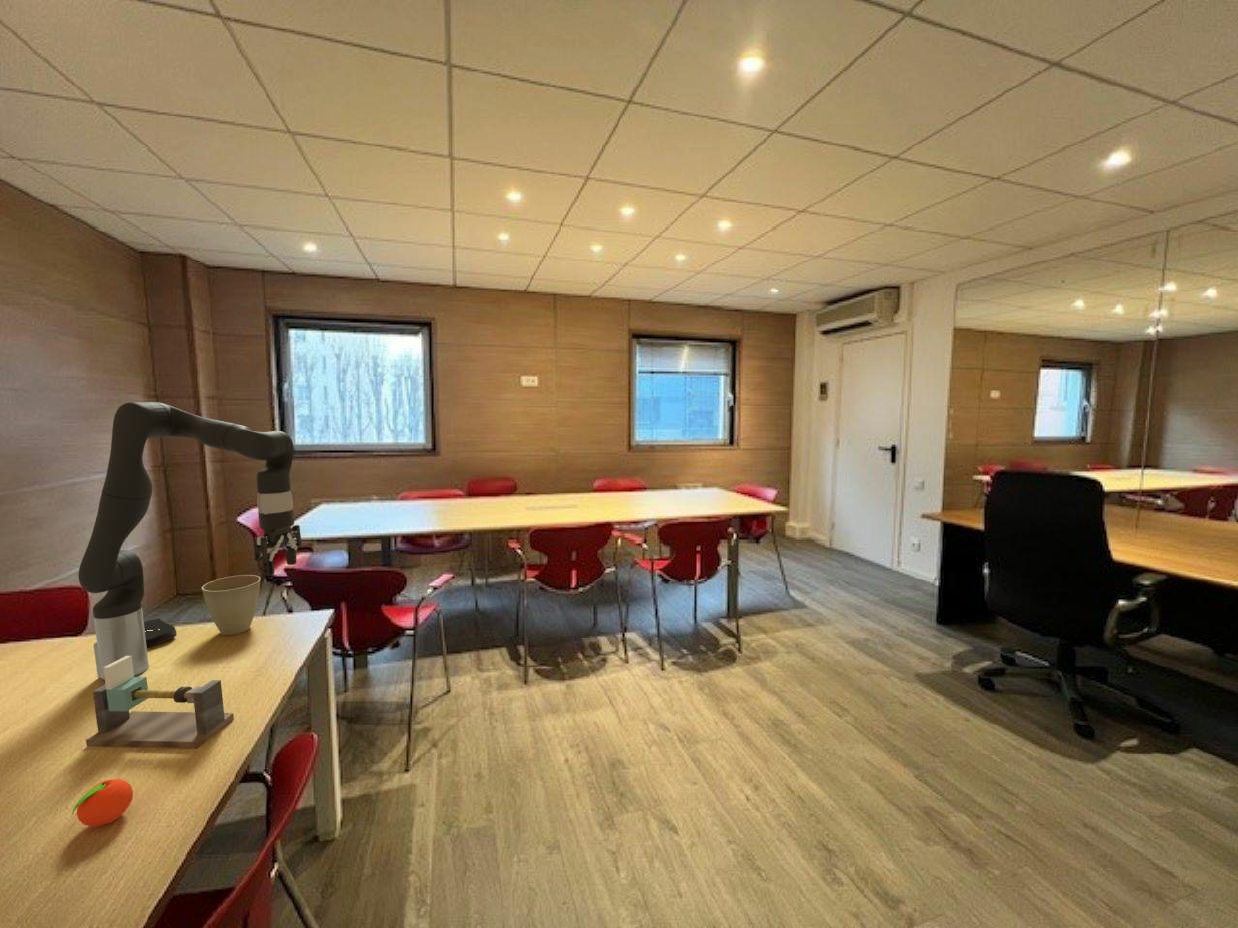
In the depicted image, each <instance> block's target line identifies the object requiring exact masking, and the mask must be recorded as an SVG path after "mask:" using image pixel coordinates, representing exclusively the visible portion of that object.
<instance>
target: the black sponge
mask: <svg viewBox="0 0 1238 928" xmlns="http://www.w3.org/2000/svg"><path fill="white" fill-rule="evenodd" d="M175 627H176V626H173V625H172V624H169V623H167V622H165V621H163V620H162V619H161V618H153V619H151V620H150V619H149V620H146V621H144V629H145V631H146V632H145V637H146V646H147V649H148V648H151V647H152V646H156V645H158V644H161V643H163V642H167V641H170V640H172V639H175V638H176V636H177V629H176V628H175ZM158 629H160V630H158ZM147 630H153V631H147Z"/></svg>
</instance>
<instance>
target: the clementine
mask: <svg viewBox="0 0 1238 928" xmlns="http://www.w3.org/2000/svg"><path fill="white" fill-rule="evenodd" d="M133 797H134V790H133V788H132V785H131V783H129V782H128V781H127V780H124V779H121V778H111V779H110V778H109V779H106V780H103V781H101V782H98V783H97V784H95V785H94V786H92V787H91V788H89V789H88V790H87V791H86V792H85V793H84V795H82V797H81V798H80V799H78V802H76V804H75V806H74V807H73V809H72V812H71V816H70V818H72V817H73V814H74V812H75V811H76V816H77V818H78V821H79V822H80V823H81V824H83V825H84V826H88V827H91V828H92V827H102V826H105V825H108V824H110V823H112V822H114V821H116V820H117V819H119V818H120V817H121V816H122V815H123V814H124V813H125V812H126V811H127V809H128V808H129V806H130V805H131V802H132V800H133Z"/></svg>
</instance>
